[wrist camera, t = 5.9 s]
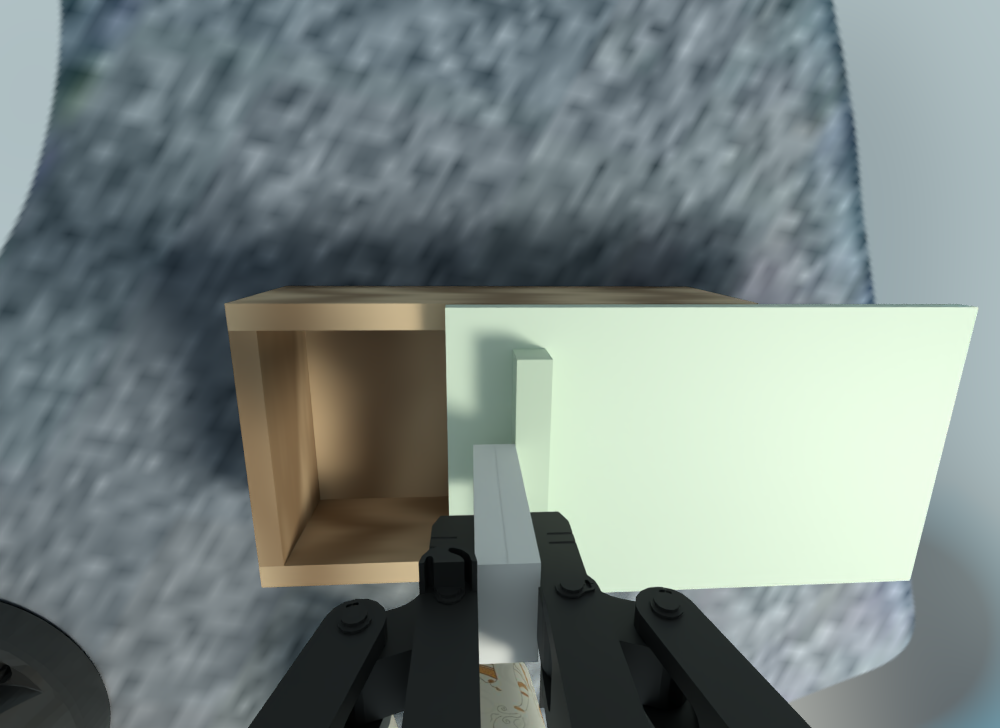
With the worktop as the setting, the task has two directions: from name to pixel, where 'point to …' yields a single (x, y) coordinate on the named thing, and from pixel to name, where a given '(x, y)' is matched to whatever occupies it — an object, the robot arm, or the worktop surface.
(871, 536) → the lid
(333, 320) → the lid box
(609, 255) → the worktop surface
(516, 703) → the mug
